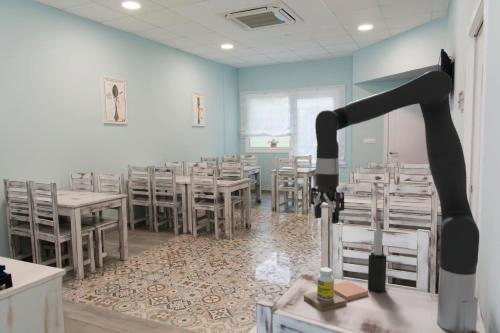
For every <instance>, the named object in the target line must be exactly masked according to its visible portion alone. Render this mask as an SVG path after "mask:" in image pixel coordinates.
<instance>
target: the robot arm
mask: <svg viewBox="0 0 500 333" xmlns="http://www.w3.org/2000/svg"><path fill="white" fill-rule="evenodd" d="M452 89H453V81H452V77H451V76H450V75H449V74H448V73H447V72H445V71H443V70H440V69H439V70H438V69H435V70H433V69H432V70H430V71H426V72H425V73H424V74H421V75H420V76H417V77H415V78H413V79H412V80H410V81H408V82H406V83H405V82H404V84H401V85H400V86H399V85H398V86H396V87H394V88H391V89H388V90H385V91H382V92H378V93H376V94H373V95H372V94H371V95H370V96H366V97H363V98H361V99H357V100H354V101H351V102H349V103H347V104H345V105H344V106H342V107H338V108H335V109H333V110H330V109H324V110H321V111H320V112H319V113H318V114H317V115H316V118H315V125H314V127H315V129H314V130H315V138H316V144H317V145H316V161H315V186H313V187H311V188H310V205H312V206H313V207H314V218H315V219H321V218H322V210H323V208H322V205H323V203H325V204H327V205H328V206H329V207H330V209H331V224H338V223H339V221H340V212H343V211H345V192H344V191H338V190H337V188H338V187H339V183H340V182H339V181H340V160H339V152H340V149H339V148H340V145H339V142H338V131H339V130H343V129H345V128H348V127H349V126H352V125H357V124H361V123H364V122H367V121H370V120H373V119H376V118H377V119H378V117H382V116H384V115H386V114H390V113H391V112H394V111H397V110H400V109H402V108H404V107H409V106H412V105H418V104H419V107H420V111H421V114H422V117H423V123H424V130H425V133H424V134H425V145H426V153H427V159H428V161H427V162H428V165H429V166H428V167H429V170H430V173H431V174H430V175H431V177H432V180H433V184H434V186H435V188H436V192H437V195H438V199H439V203H440V214H441V215H440V216H441V233H440V234H441V236H440V255H439V272H438V273H439V274H438V276H439V277H438V292H437V313H436V314H437V315H436V323H437V324H438V326H439V327H441V328H442V329H444V330H446V331H449V332H452V333H473V332H475V331H477V323H478V322H477V320H478V307H479V306H478V305H479V304H478V303H479V299H478V297H476V296H475V295H476V294H475V293H476V281H477V278H476V277H477V267H478V262H479V250H480V230H479V227H478V226H477V223H476V220H475V218H474V216H473V212H472V210H471V205H470V203H469V199H468V193H467V192H468V191H467V187H468V186H467V185H468V184H467V178H468V177H467V166H466V160H465V155H464V149H463V145H462V142H461V139H460V136H459V134H458V131H457V129H456V127H455V124H454V122H453V117H452V113H451V105H450V93H451V91H452ZM474 330H475V331H474ZM472 331H473V332H472Z"/></svg>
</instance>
